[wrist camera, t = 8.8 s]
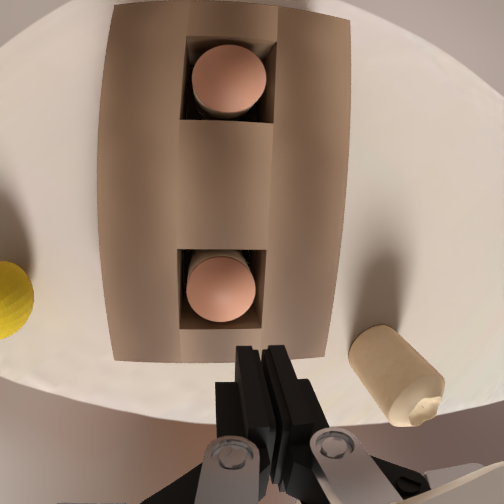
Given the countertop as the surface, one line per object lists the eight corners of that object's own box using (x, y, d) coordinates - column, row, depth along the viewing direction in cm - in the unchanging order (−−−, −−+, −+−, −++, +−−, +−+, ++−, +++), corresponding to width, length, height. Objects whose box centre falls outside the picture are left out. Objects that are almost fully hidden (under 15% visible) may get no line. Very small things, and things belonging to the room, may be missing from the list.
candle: (377, 313, 28) (439, 373, 18) (405, 340, 29) (462, 396, 20) (336, 357, 29) (384, 428, 19) (368, 379, 30) (415, 443, 21)
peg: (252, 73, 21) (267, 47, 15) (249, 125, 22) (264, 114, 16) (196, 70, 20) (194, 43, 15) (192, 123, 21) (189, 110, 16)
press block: (318, 47, 21) (349, 20, 15) (300, 317, 27) (324, 356, 21) (133, 38, 19) (114, 5, 13) (130, 319, 25) (114, 360, 19)
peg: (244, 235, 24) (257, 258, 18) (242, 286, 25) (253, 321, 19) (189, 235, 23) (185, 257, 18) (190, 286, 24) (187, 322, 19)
